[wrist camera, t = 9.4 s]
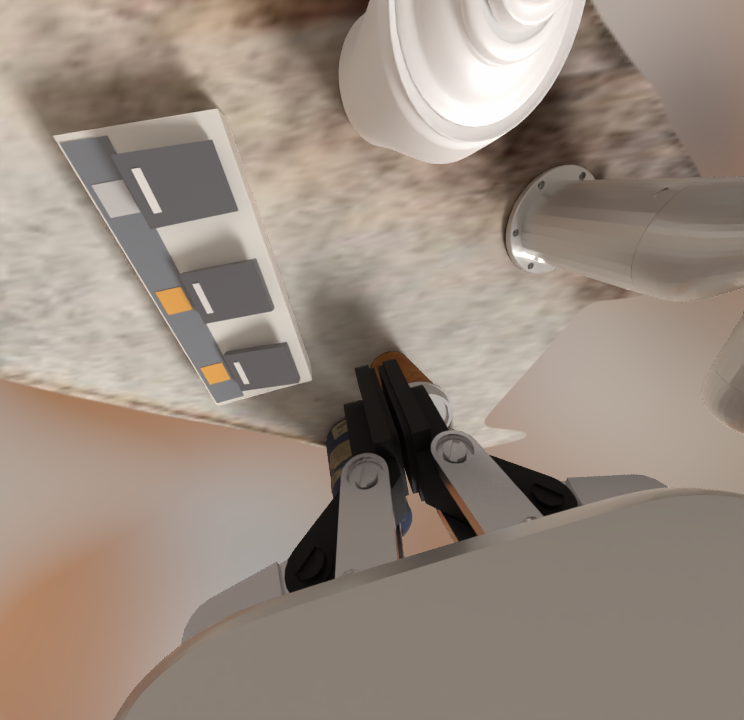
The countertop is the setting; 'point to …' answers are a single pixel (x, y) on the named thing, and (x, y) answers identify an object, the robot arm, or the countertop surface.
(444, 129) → the white bottle
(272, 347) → the rocker
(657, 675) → the robot arm
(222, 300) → the rocker middle
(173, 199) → the plate
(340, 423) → the canister
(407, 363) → the disposable coffee cup
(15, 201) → the countertop surface
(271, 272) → the switch unit
